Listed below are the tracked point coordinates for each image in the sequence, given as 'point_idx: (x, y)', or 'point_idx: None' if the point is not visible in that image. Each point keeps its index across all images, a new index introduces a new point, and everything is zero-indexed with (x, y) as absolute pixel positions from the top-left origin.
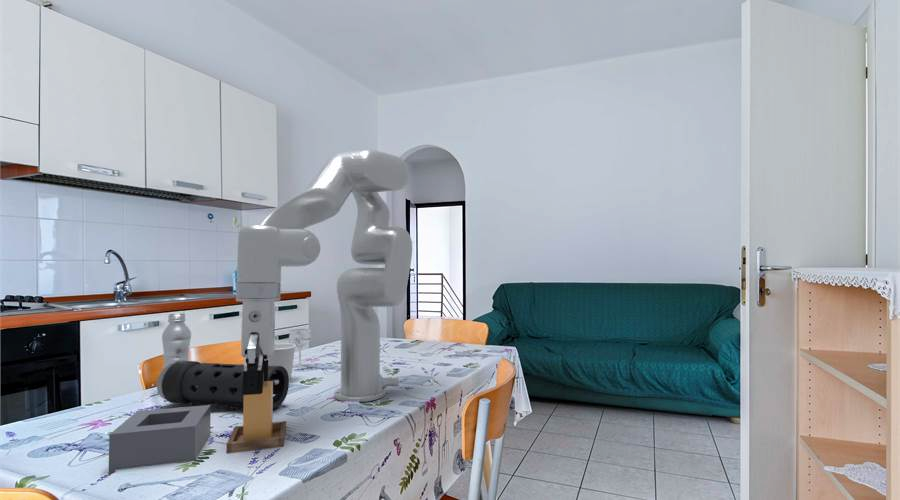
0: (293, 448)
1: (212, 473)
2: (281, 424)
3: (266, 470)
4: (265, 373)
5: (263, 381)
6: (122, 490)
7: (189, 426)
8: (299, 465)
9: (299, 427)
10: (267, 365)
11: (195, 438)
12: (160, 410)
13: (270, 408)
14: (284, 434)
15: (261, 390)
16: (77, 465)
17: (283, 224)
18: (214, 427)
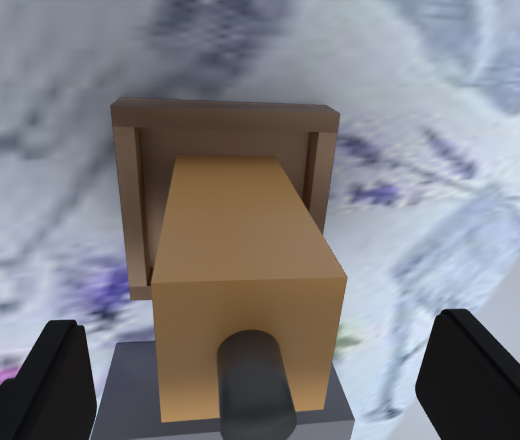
0: (330, 66)
1: (407, 282)
2: (158, 126)
3: (468, 152)
4: (65, 376)
5: (254, 345)
6: (398, 411)
7: (351, 432)
8: (493, 47)
9: (70, 31)
10: (18, 431)
11: (338, 384)
12: None
13: (305, 211)
14: (262, 108)
15: (471, 321)
16: None
17: None
18: (11, 352)
